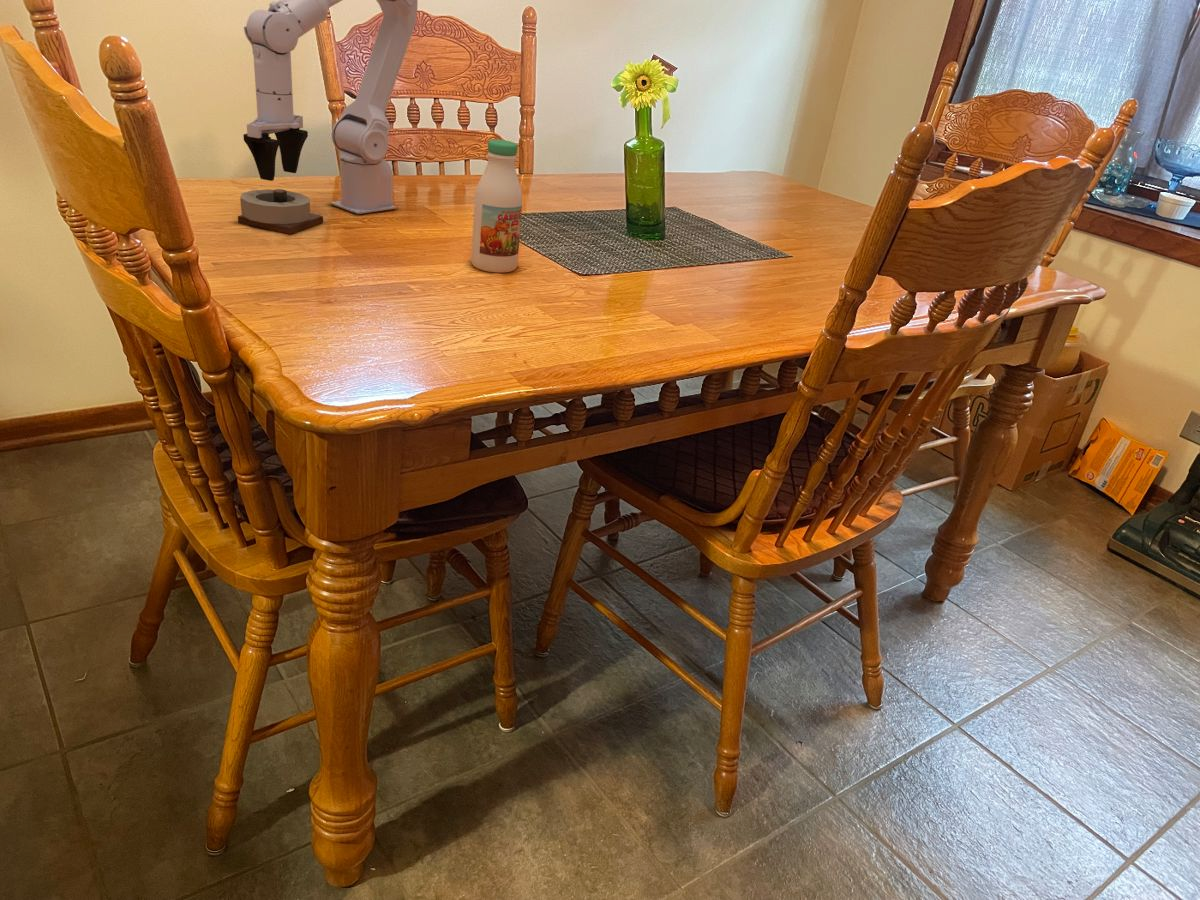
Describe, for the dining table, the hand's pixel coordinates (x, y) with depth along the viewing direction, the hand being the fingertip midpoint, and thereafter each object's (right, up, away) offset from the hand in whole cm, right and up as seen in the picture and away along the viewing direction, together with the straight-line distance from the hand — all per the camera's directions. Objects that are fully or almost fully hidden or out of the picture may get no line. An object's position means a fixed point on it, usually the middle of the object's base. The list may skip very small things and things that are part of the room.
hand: (278, 175), depth 143 cm
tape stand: (+1, -8, 0) cm, 8 cm away
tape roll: (0, -7, -1) cm, 7 cm away
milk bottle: (+38, -17, -5) cm, 42 cm away
